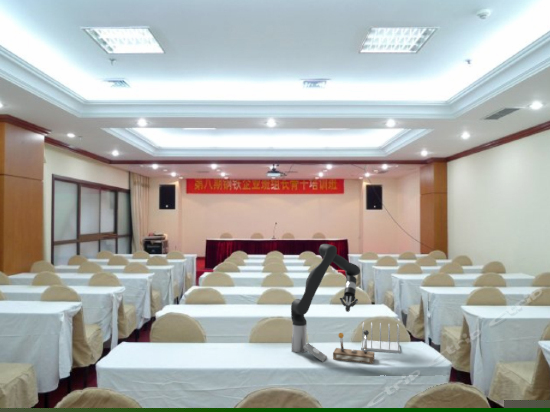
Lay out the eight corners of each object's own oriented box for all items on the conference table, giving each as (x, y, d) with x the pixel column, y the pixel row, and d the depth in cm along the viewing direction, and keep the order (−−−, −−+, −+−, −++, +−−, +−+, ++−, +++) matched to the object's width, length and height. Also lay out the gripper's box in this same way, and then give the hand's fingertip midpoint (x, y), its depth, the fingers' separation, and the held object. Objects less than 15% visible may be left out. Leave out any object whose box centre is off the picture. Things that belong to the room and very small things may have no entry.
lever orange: (339, 352, 255) (337, 334, 249) (340, 348, 257) (338, 331, 252) (344, 352, 254) (343, 335, 248) (345, 349, 256) (343, 331, 251)
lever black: (362, 352, 250) (363, 329, 256) (362, 353, 253) (364, 330, 259) (367, 353, 249) (368, 329, 255) (368, 353, 252) (369, 330, 258)
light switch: (324, 359, 247) (304, 345, 252) (320, 367, 248) (300, 353, 253) (328, 355, 255) (308, 341, 260) (323, 362, 256) (304, 349, 261)
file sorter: (360, 350, 270) (360, 326, 271) (361, 342, 287) (361, 320, 288) (400, 353, 265) (400, 329, 265) (398, 345, 281) (398, 322, 282)
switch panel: (333, 359, 252) (333, 350, 252) (336, 354, 262) (336, 346, 262) (372, 363, 244) (372, 355, 244) (374, 358, 254) (374, 349, 254)
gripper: (340, 286, 286) (336, 307, 274) (359, 287, 281) (356, 308, 269) (341, 292, 291) (338, 313, 279) (360, 293, 286) (357, 315, 274)
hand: (347, 311), depth 274 cm, fingers closed
